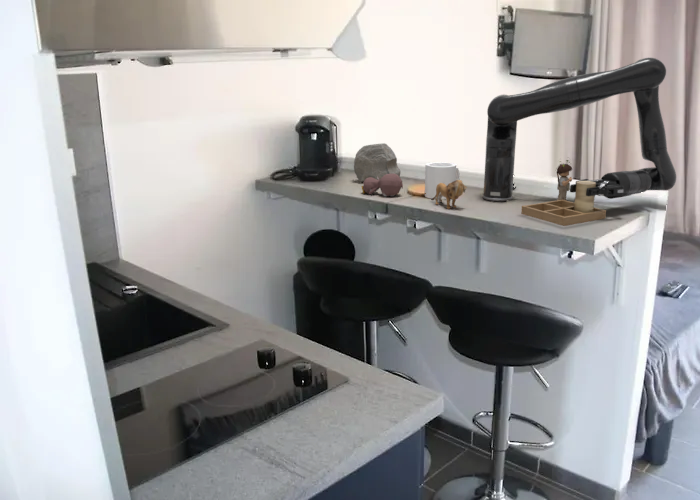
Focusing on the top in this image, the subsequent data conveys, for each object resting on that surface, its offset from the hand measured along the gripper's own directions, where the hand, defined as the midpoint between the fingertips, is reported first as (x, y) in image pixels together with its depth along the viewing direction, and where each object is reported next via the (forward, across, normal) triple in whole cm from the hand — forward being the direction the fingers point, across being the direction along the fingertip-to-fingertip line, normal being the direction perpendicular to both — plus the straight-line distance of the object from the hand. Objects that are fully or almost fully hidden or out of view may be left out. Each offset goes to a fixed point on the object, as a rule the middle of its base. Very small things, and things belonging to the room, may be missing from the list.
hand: (579, 190), depth 178 cm
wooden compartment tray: (+1, -4, +9) cm, 10 cm away
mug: (+12, -47, +9) cm, 49 cm away
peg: (-3, 0, +8) cm, 8 cm away
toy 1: (+29, -59, +9) cm, 66 cm away
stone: (+20, -77, +9) cm, 80 cm away
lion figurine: (+20, -34, +9) cm, 40 cm away
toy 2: (-13, -17, +9) cm, 23 cm away
